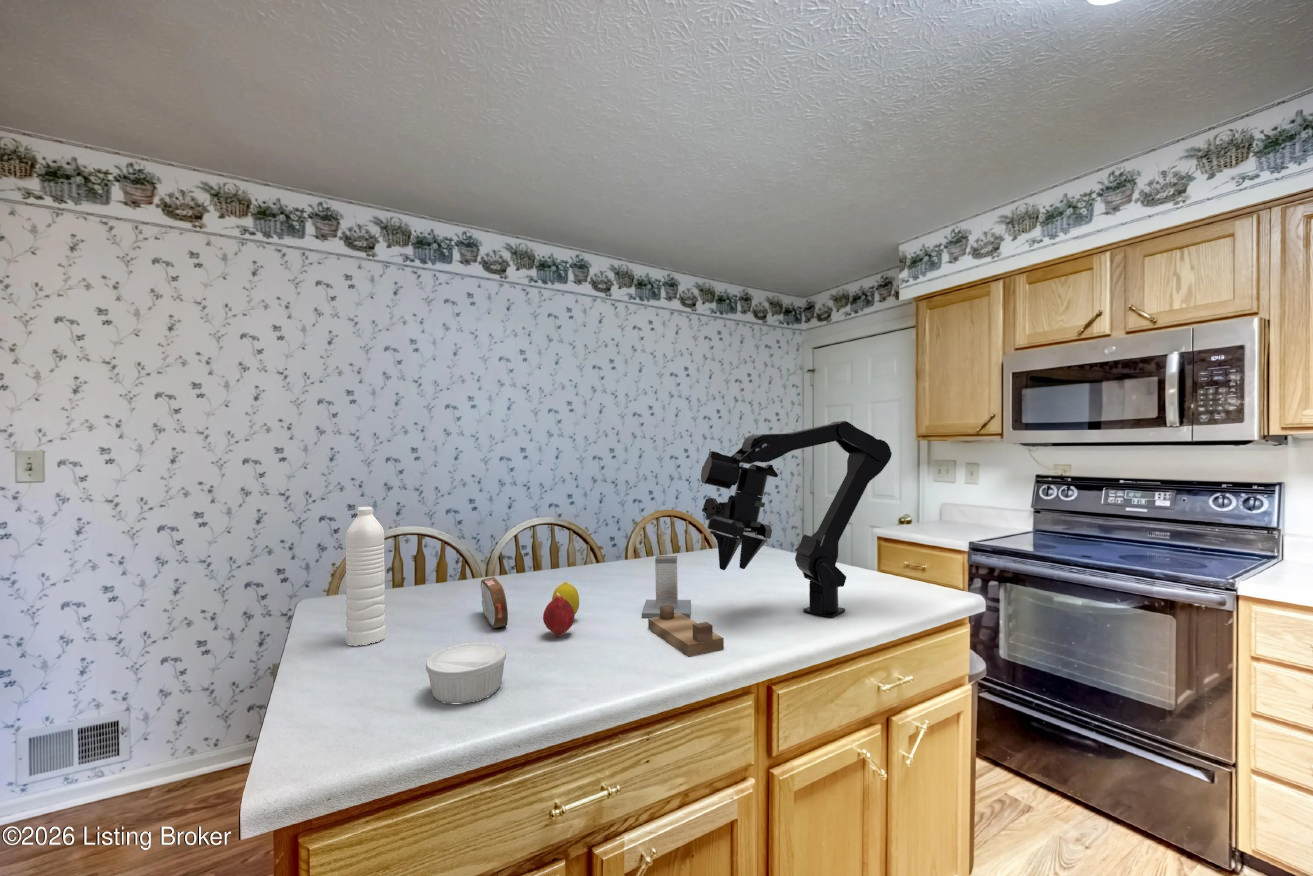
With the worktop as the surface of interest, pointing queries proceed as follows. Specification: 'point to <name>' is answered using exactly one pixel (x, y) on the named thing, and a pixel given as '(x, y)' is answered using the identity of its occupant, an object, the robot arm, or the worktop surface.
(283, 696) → the worktop surface
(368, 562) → the water bottle
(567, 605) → the onion
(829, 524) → the robot arm
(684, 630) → the body
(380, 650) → the worktop surface
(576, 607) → the lemon
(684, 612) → the mat
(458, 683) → the ramekin
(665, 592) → the lever cap
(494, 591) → the tin
